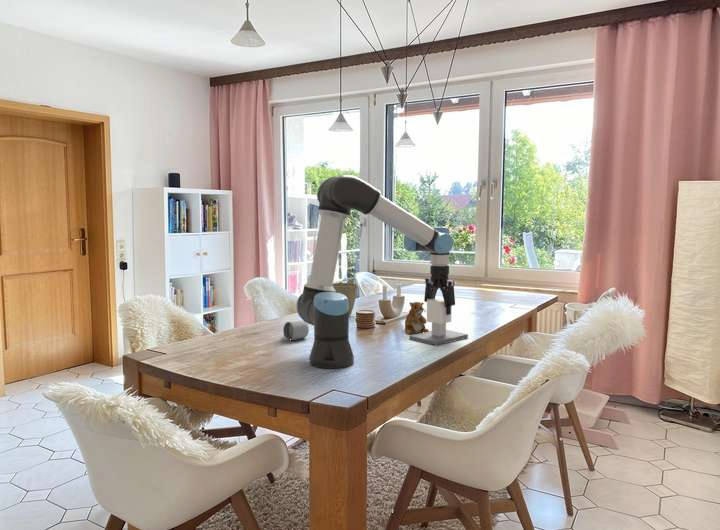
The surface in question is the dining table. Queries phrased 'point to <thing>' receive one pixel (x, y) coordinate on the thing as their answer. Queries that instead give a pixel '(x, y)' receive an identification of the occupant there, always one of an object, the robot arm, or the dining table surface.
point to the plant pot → (347, 292)
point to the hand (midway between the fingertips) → (439, 321)
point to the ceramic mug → (295, 330)
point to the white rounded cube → (436, 311)
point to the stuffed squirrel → (415, 319)
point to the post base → (436, 338)
